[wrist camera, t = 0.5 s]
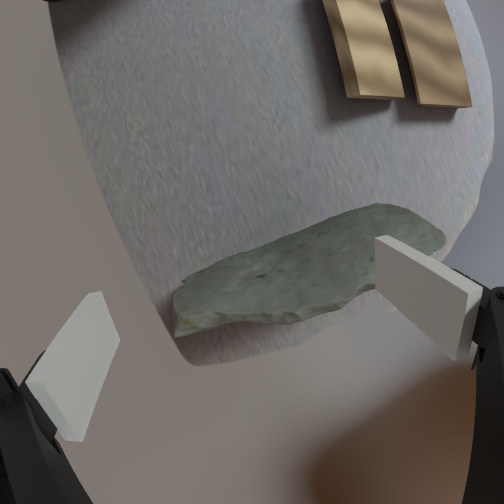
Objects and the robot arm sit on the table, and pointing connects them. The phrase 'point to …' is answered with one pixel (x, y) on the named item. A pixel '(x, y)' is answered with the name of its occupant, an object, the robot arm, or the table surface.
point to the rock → (298, 271)
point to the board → (432, 53)
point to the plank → (364, 49)
